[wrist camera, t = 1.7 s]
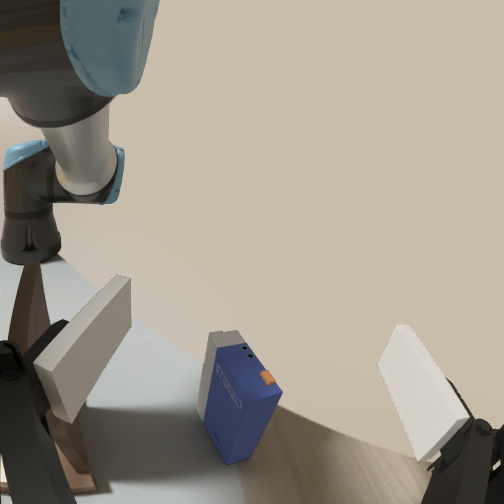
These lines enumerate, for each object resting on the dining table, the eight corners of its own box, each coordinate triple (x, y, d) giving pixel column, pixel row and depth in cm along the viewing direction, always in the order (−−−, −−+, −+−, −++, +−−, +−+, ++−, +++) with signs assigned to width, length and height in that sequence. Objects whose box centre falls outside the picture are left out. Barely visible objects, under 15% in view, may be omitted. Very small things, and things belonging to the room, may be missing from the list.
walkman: (250, 457, 23) (285, 388, 19) (225, 465, 22) (251, 398, 17) (218, 403, 29) (237, 324, 25) (195, 408, 28) (208, 328, 24)
